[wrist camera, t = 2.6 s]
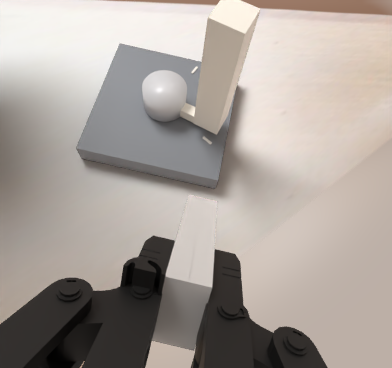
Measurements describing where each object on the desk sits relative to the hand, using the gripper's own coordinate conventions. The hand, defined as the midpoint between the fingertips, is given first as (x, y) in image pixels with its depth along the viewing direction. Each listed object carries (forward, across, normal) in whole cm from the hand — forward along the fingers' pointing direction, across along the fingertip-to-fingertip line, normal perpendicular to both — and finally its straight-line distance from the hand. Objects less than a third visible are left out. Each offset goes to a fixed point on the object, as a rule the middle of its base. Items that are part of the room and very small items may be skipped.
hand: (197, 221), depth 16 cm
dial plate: (+18, -5, +1) cm, 19 cm away
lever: (+16, -3, +3) cm, 16 cm away
